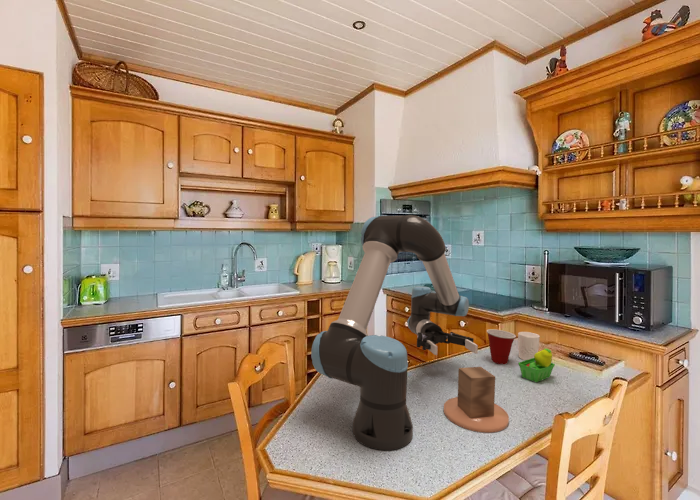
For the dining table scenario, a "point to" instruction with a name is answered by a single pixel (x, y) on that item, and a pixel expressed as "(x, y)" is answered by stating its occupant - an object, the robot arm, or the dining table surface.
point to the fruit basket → (537, 366)
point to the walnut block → (476, 392)
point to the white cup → (528, 345)
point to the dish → (476, 424)
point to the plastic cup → (500, 345)
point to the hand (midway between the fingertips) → (456, 350)
